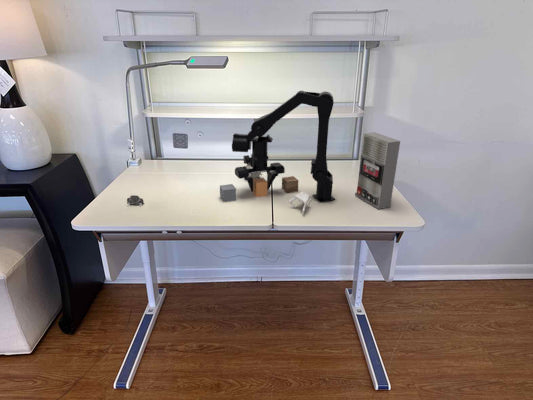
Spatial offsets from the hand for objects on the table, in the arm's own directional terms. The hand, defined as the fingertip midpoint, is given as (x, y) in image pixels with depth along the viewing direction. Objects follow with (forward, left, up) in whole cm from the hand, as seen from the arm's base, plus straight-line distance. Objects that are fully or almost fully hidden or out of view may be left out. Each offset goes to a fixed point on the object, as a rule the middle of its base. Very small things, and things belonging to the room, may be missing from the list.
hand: (259, 190), depth 148 cm
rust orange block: (0, 0, -2) cm, 2 cm away
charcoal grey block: (0, +13, -2) cm, 13 cm away
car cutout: (+4, +43, -2) cm, 43 cm away
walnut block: (0, -13, -2) cm, 13 cm away
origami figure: (-18, -9, -2) cm, 21 cm away
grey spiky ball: (+17, -3, -2) cm, 17 cm away
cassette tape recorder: (-21, -38, -2) cm, 43 cm away
